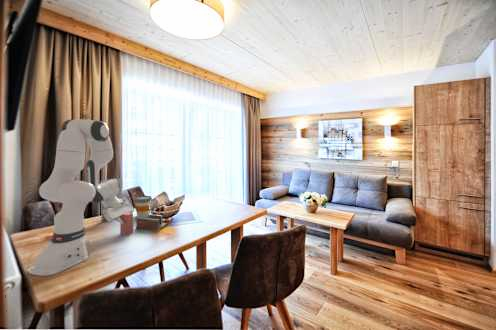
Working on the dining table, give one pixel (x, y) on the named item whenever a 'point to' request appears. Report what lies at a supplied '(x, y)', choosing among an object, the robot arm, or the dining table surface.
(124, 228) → the book
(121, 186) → the tall upright panel
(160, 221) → the bookend
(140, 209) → the reusable coffee cup
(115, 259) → the dining table surface
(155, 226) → the shelf
